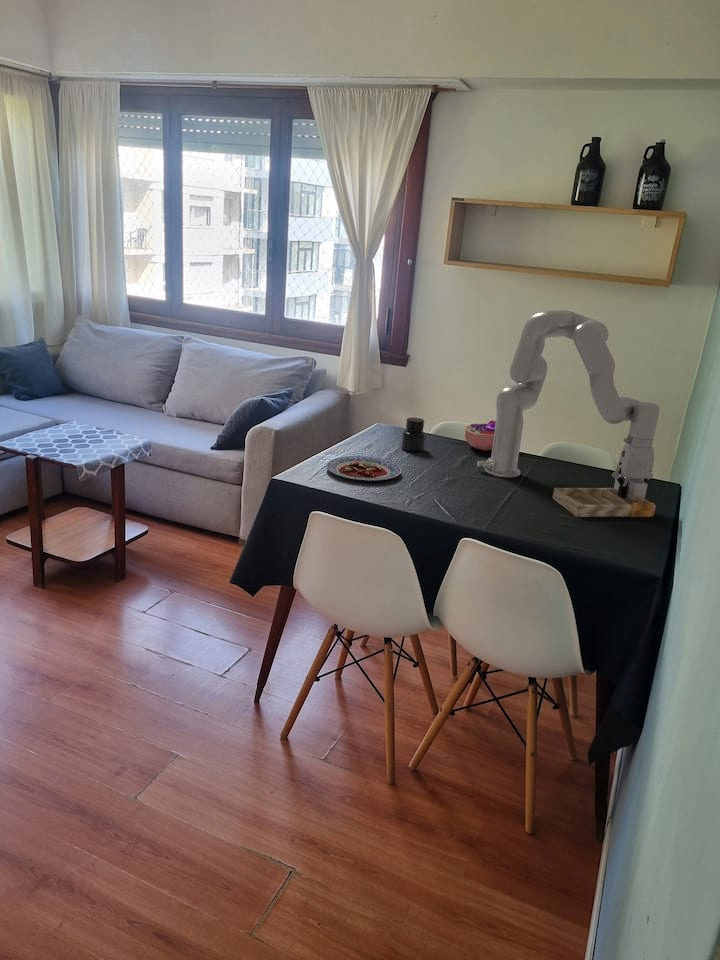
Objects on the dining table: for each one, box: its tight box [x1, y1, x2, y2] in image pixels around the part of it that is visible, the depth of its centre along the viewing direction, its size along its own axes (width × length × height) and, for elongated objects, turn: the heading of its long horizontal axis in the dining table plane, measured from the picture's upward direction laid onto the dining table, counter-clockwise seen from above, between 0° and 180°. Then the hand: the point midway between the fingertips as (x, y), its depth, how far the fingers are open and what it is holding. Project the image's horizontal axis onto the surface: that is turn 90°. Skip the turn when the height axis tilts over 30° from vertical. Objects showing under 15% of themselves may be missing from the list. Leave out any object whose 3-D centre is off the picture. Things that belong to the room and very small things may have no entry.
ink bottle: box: [401, 417, 426, 452], centre depth 260 cm, size 10×9×12 cm
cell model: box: [464, 420, 496, 452], centre depth 268 cm, size 17×20×11 cm
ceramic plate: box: [326, 455, 402, 482], centre depth 230 cm, size 26×26×3 cm
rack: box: [552, 487, 657, 518], centre depth 213 cm, size 26×17×4 cm, turn 101°
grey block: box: [613, 474, 649, 505], centre depth 214 cm, size 4×11×7 cm, turn 11°
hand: (628, 496), depth 214 cm, fingers closed on grey block, 4 cm apart
